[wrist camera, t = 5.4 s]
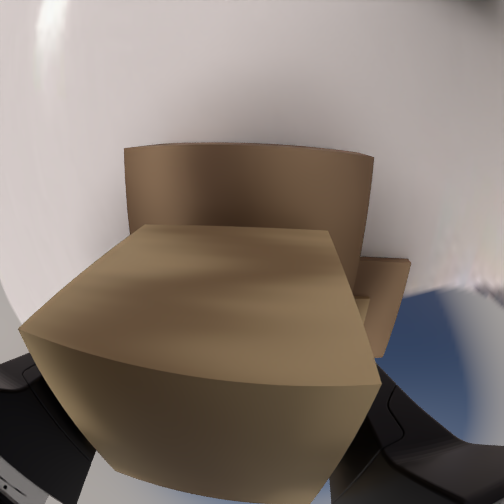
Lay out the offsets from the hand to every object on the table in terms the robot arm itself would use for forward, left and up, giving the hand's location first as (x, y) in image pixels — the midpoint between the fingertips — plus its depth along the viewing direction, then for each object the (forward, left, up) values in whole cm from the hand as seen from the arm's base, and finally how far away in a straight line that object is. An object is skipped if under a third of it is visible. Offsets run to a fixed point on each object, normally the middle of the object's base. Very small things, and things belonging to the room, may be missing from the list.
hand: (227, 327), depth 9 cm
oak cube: (0, 0, -1) cm, 1 cm away
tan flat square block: (0, 0, -8) cm, 8 cm away
